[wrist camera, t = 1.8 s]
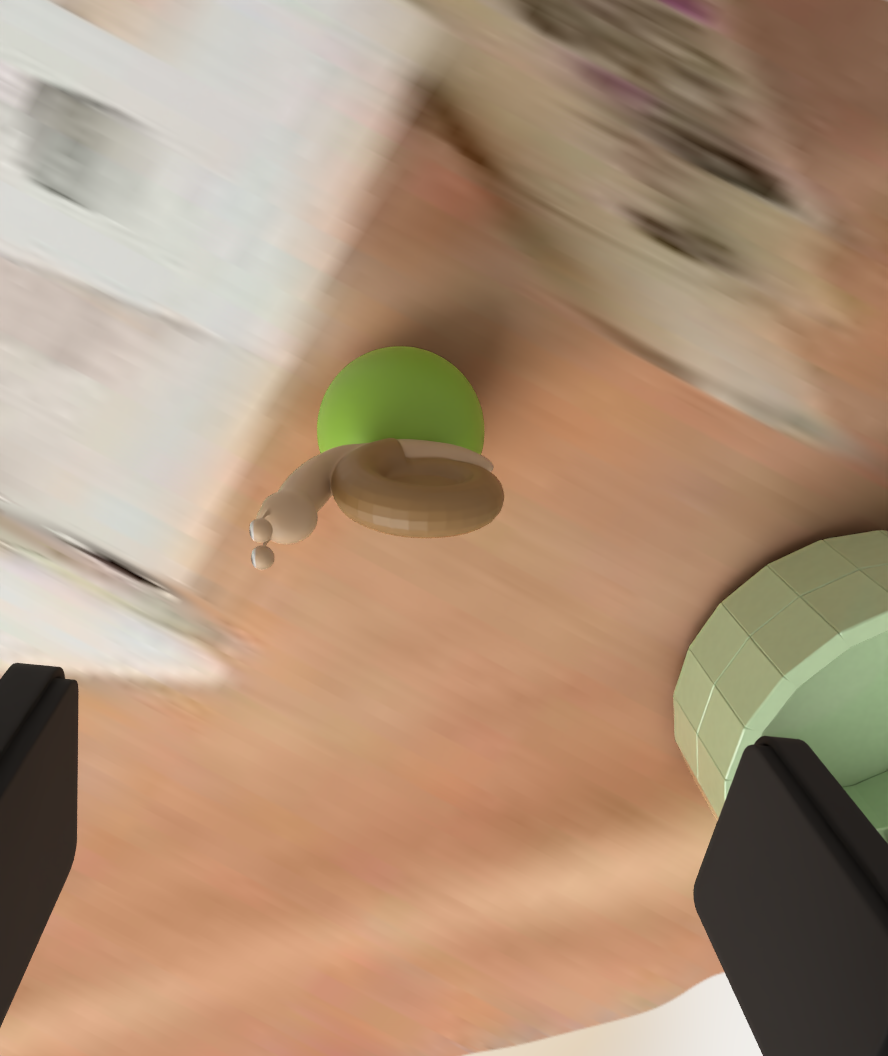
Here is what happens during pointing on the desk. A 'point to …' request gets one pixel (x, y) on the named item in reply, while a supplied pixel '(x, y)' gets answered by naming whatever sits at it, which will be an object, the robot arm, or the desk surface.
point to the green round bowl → (795, 671)
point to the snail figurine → (390, 455)
